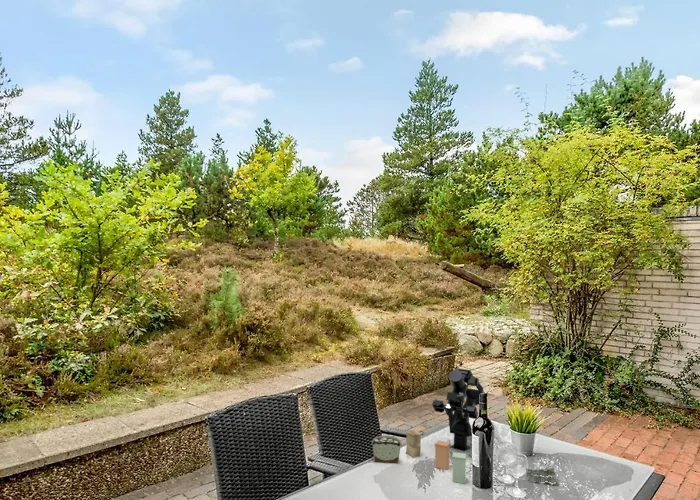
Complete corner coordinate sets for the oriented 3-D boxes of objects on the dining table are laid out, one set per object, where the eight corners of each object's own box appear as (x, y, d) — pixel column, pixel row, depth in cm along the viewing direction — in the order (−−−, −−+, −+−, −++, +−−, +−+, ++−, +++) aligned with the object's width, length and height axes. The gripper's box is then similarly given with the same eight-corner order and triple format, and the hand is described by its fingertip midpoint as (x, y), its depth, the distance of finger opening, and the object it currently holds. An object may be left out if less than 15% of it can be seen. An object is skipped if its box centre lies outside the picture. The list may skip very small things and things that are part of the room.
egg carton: (555, 478, 175) (555, 468, 175) (557, 487, 168) (557, 476, 168) (525, 473, 178) (525, 463, 178) (526, 482, 171) (526, 471, 171)
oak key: (414, 451, 193) (414, 430, 194) (420, 455, 189) (421, 433, 189) (405, 453, 192) (406, 431, 192) (412, 457, 187) (412, 435, 188)
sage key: (452, 476, 171) (452, 452, 171) (465, 478, 170) (466, 453, 170) (452, 481, 167) (452, 456, 167) (465, 483, 166) (465, 458, 166)
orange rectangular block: (438, 463, 183) (438, 440, 183) (449, 465, 180) (450, 442, 181) (434, 467, 179) (434, 443, 179) (446, 470, 176) (446, 446, 177)
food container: (401, 460, 187) (401, 436, 188) (401, 467, 181) (402, 441, 181) (371, 458, 188) (372, 434, 189) (370, 465, 182) (371, 440, 183)
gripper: (433, 381, 199) (424, 413, 189) (476, 387, 190) (469, 421, 180) (439, 394, 206) (430, 426, 196) (481, 401, 196) (474, 435, 186)
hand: (450, 427), depth 189 cm, fingers closed
